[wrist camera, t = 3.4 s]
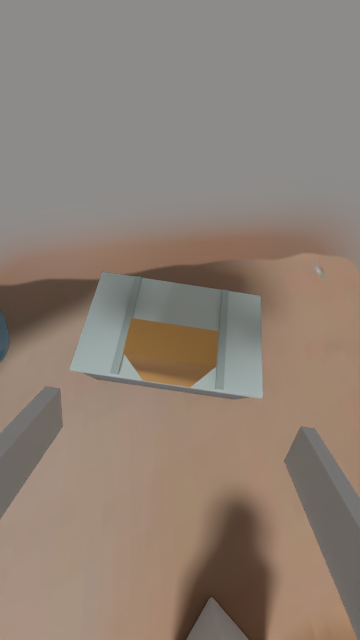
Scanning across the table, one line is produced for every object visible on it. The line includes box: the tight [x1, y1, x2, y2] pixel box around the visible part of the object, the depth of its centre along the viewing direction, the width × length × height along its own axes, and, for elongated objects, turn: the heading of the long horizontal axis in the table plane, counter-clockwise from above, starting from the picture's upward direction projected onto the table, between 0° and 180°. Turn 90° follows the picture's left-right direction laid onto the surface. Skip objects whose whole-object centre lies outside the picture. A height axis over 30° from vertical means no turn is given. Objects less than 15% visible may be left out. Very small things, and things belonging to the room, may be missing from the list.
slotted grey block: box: [70, 272, 263, 398], centre depth 20 cm, size 20×12×14 cm, turn 82°
